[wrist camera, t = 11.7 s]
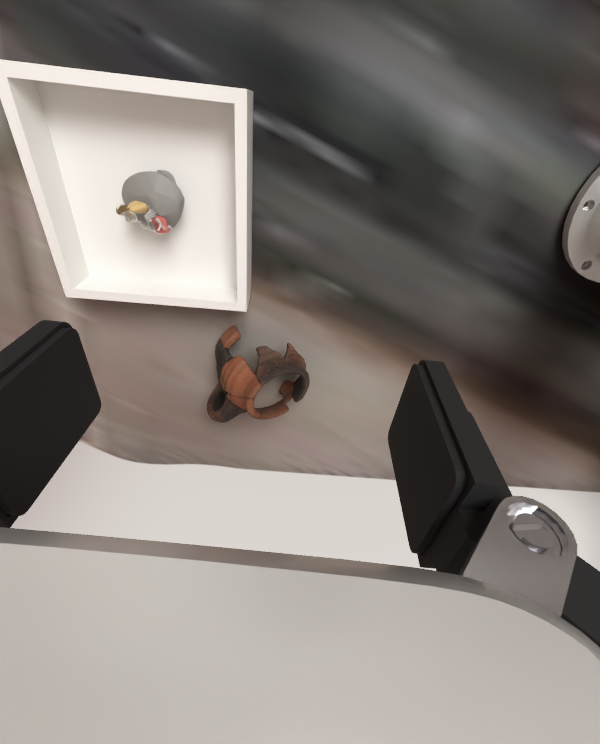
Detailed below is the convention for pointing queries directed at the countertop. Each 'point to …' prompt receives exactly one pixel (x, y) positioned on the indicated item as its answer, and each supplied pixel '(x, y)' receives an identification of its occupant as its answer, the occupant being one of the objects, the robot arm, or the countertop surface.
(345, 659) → the robot arm
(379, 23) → the countertop surface
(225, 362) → the brown two-tone ridged part
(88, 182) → the bin
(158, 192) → the figurine
